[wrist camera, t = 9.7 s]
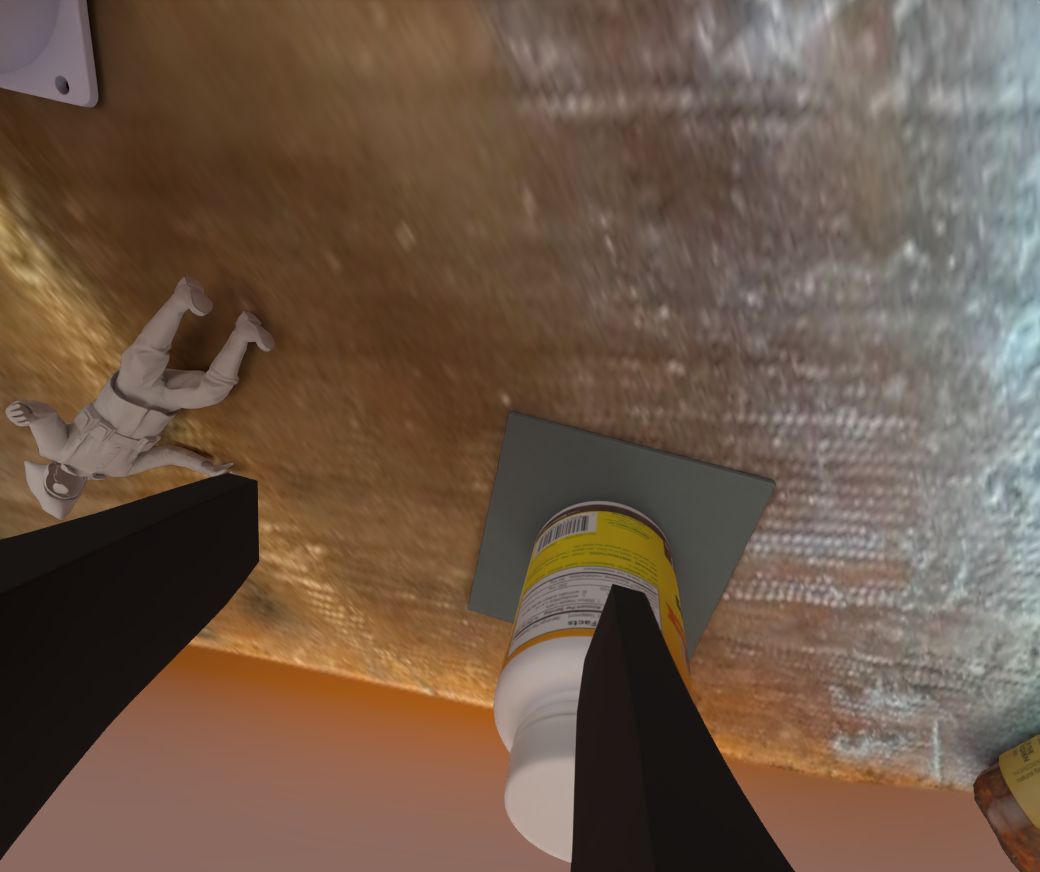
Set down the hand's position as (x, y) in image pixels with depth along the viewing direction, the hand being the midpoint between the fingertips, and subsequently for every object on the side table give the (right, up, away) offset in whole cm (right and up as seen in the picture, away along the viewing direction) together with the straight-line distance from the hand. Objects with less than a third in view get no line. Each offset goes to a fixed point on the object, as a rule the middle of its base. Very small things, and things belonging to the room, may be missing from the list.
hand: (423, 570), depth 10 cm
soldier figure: (-12, +5, +12) cm, 18 cm away
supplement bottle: (+5, -2, +11) cm, 12 cm away
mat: (+5, -2, +11) cm, 13 cm away
